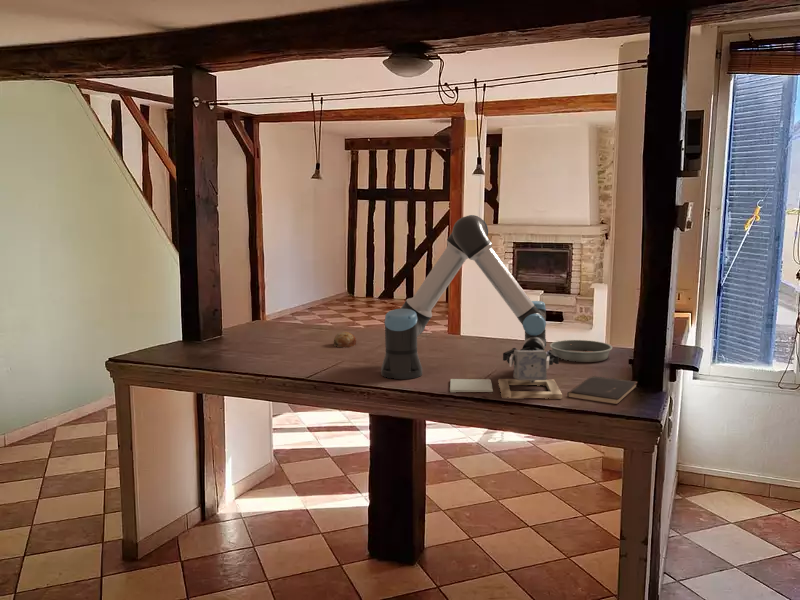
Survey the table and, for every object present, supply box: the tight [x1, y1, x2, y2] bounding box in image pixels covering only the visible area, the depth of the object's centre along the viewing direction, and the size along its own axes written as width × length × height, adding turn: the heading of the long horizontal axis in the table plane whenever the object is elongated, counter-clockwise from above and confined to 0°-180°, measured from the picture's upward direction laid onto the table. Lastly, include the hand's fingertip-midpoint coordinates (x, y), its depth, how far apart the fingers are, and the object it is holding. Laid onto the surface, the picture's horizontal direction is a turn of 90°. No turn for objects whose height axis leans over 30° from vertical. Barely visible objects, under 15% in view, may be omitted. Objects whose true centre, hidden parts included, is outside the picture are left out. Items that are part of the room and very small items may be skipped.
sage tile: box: [449, 378, 494, 393], centre depth 225 cm, size 14×14×1 cm
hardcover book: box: [567, 375, 638, 405], centre depth 217 cm, size 16×23×2 cm
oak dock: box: [497, 378, 563, 400], centre depth 219 cm, size 19×18×2 cm
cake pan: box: [549, 339, 613, 363], centre depth 268 cm, size 25×25×4 cm
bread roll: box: [333, 331, 357, 348], centre depth 295 cm, size 10×10×8 cm
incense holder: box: [513, 349, 548, 383], centre depth 218 cm, size 10×8×10 cm
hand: (528, 363), depth 214 cm, fingers closed on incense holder, 11 cm apart
